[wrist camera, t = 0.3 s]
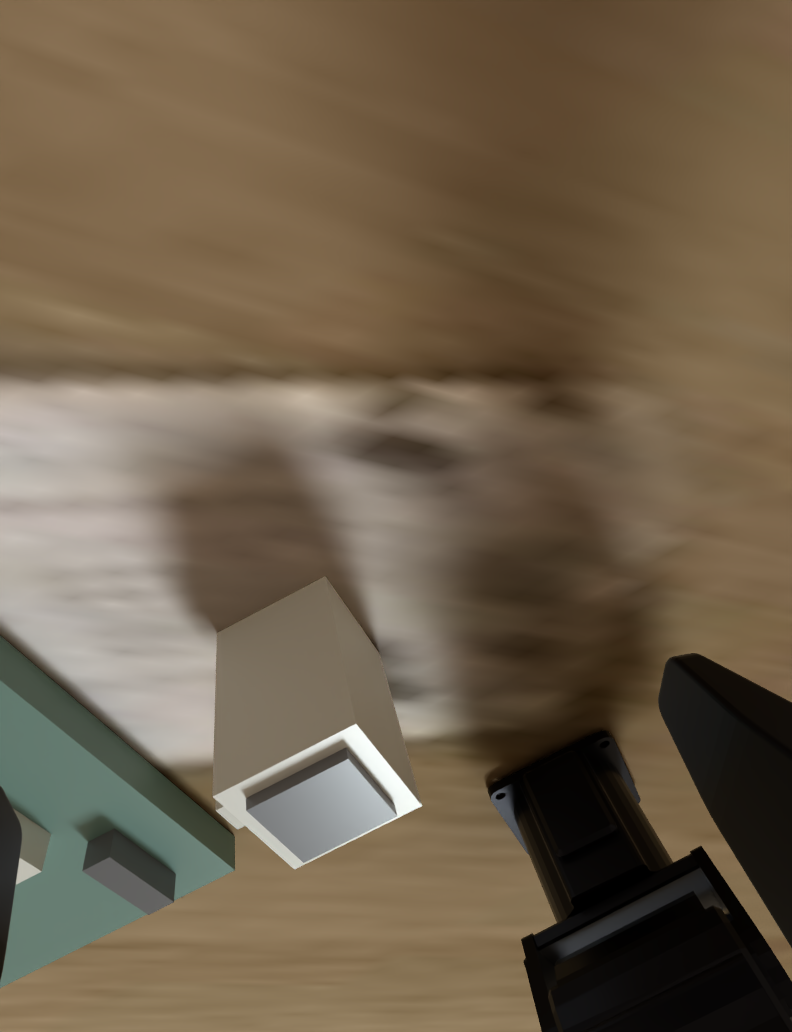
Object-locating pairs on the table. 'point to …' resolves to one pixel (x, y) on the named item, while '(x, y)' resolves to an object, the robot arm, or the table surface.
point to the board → (89, 824)
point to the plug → (306, 728)
